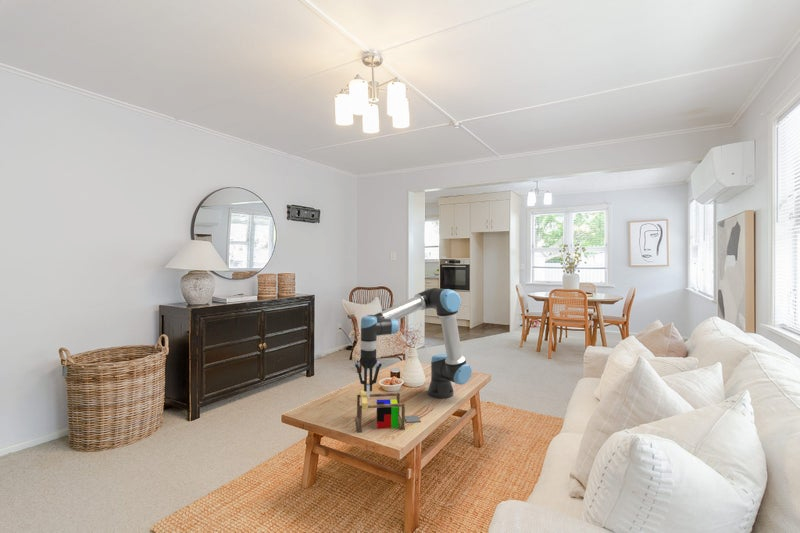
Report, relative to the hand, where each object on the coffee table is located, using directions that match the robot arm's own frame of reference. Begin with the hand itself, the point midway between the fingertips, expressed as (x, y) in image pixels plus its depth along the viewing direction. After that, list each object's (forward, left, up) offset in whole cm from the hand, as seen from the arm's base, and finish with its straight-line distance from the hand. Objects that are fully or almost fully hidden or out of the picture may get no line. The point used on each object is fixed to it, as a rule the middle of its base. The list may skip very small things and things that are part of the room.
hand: (367, 397), depth 183 cm
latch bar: (+2, 0, -2) cm, 3 cm away
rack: (-6, 0, -13) cm, 15 cm away
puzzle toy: (-9, 0, -13) cm, 16 cm away
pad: (-22, -3, -13) cm, 26 cm away
